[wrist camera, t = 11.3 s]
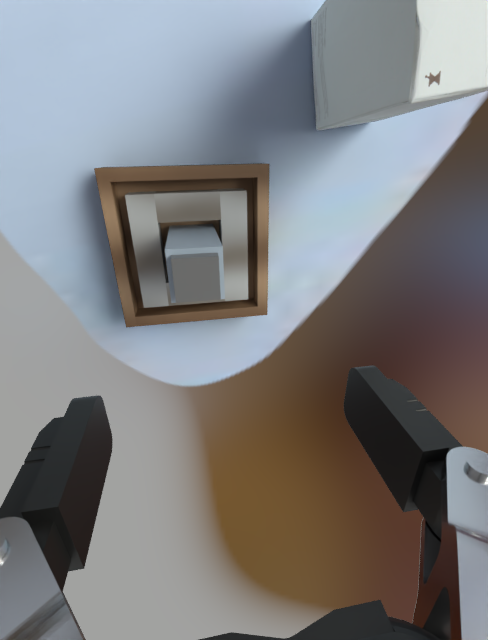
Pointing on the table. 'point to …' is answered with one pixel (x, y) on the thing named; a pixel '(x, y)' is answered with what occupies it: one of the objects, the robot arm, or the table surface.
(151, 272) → the walnut box
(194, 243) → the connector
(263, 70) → the table surface
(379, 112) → the skincare box
